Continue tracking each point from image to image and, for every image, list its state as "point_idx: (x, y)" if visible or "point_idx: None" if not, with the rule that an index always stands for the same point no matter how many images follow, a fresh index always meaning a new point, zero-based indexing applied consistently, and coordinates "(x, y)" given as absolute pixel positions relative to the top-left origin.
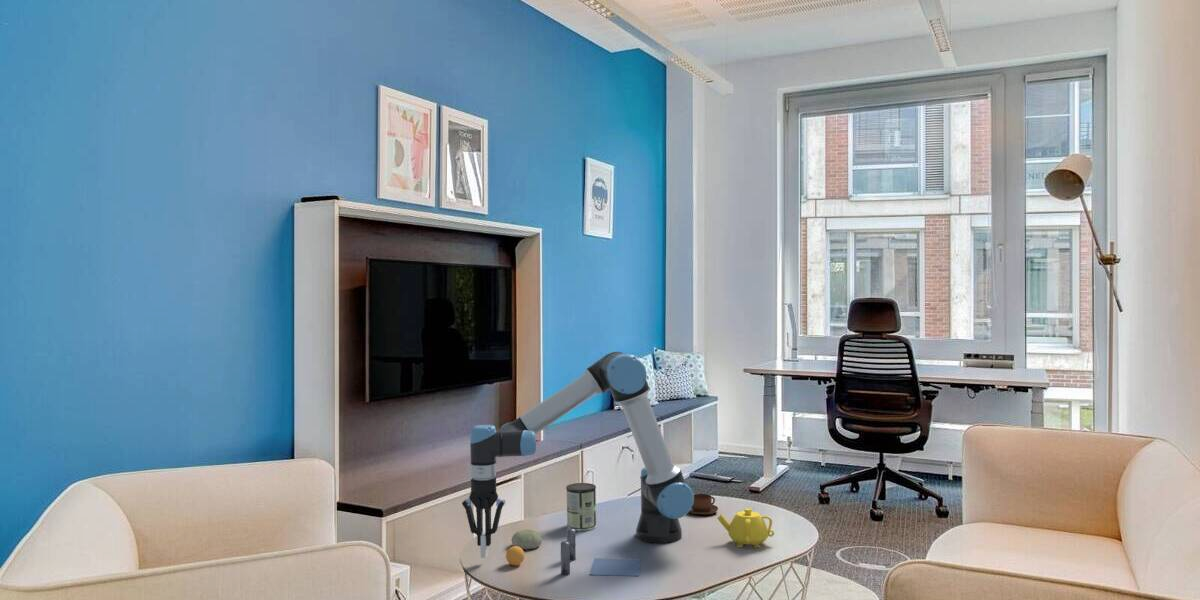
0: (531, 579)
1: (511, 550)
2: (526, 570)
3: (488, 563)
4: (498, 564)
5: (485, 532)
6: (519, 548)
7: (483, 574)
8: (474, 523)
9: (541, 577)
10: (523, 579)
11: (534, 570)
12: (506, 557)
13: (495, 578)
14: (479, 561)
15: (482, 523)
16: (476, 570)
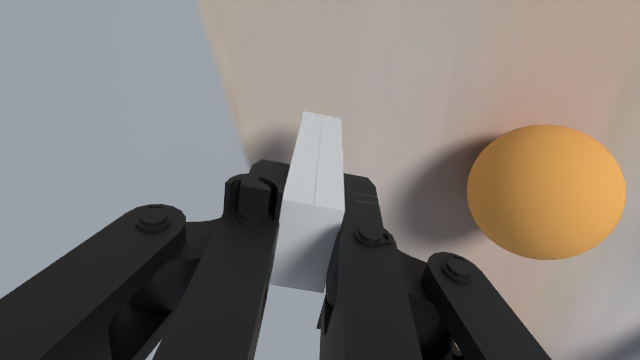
0: (535, 338)
1: (526, 252)
2: None
3: (344, 112)
4: (407, 138)
5: (322, 320)
6: (601, 241)
7: None
8: (105, 307)
9: (587, 326)
10: None
11: (590, 251)
12: (470, 208)
13: None
14: (280, 64)
15: (256, 326)
16: None
